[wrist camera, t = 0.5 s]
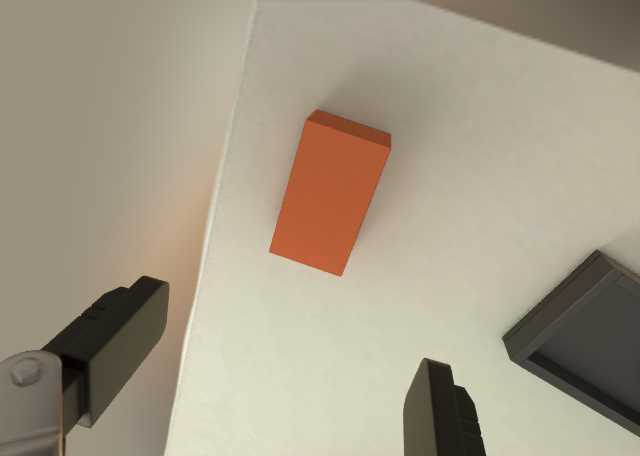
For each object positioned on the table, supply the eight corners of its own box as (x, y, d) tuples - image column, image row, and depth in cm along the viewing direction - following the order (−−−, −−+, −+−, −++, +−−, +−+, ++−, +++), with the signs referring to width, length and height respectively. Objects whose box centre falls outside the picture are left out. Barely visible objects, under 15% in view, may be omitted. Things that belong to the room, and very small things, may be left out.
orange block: (316, 109, 26) (306, 119, 23) (391, 134, 26) (391, 148, 23) (281, 229, 30) (268, 252, 27) (346, 252, 30) (341, 277, 27)
